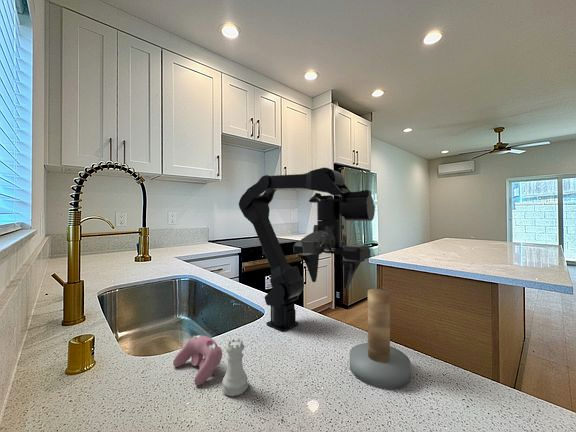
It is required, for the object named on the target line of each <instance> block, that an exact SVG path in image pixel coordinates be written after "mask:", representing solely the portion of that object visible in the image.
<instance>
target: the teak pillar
mask: <svg viewBox="0 0 576 432" xmlns="http://www.w3.org/2000/svg"><path fill="white" fill-rule="evenodd" d="M390 294H391V292H390V291H388V290H386V289H381V288H380V289H379V288H370V289H368V290H367V343H368V357H369V358H370V359H371V360H373V361H376V362H380V363H385V362H388V361H389V360H390V346H391V310H390V309H391V304H390V302H391V301H390V299H391V297H390V296H391V295H390Z"/></svg>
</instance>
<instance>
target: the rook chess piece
mask: <svg viewBox="0 0 576 432" xmlns="http://www.w3.org/2000/svg"><path fill="white" fill-rule="evenodd" d="M245 348H246V347H245V344H244V343H243V340H242V339H240V338H237V339H236V341H235V338H232V339H231V340H228V341H227V344H226V346H225V348H224V349H225V351H226V353H227V355H226V360H227V366H226V372H225V374H224V377H223V378H222V382H221V384H222V385H221V391H222V392H223V393H224V394H225V395H226V396H228V397H238V396H240V395H242V394H244V393H245V391H246V390H247V389H248V387H249V382H248V378H249V377H248V375H247V374H246V371H245V370H244V365H243V364H244V363H243V357H244V354H243V351H244V350H245Z"/></svg>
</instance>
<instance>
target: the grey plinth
mask: <svg viewBox="0 0 576 432" xmlns="http://www.w3.org/2000/svg"><path fill="white" fill-rule="evenodd" d="M411 367H412V363H411V360H410V358H409V357H408V355H407V354H406V353H405V352H403V351H402V350H400V349H397V348H396V347H394V346H391V345H390V360H389V361H388V362H385V363H380V362H376V361H373V360H371V359H370V358H369V357H368V342H362V343H359V344H356V345H354V346H353V347H351V349H350V351H349V370H350V371H351V373H352V374H353V376H354V377H355V378H356V379H357V380H359V381H361V382H362V383H365V385H369V386H371V387H374V388H377V389H383V390H398V389H402V388H404V387H406V386H407V385H409V384H410V382H411V379H412V368H411Z"/></svg>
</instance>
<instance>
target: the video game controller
mask: <svg viewBox="0 0 576 432" xmlns="http://www.w3.org/2000/svg"><path fill="white" fill-rule="evenodd" d="M190 358H191V361H190V363H191V366H194V367H199V370H198V371H197V373H196V374H195V377H194V381H193V382H194V385H195V386H197V387H198V386H202V385H203V384H204V383H206V382H207V381H208V380H209V379H210V377H211V376H212V375H213V373H214V372H215V370H216V368H217V366H218V365H220V363H221V361H222V358H223V351H222V348H221V347H220V346H219V345H218V343H217V341H215V340H214V339H213V338H211V337H210V336H208V335H200V334H199V335H193V336H192V337H191V338H189V340H188V341H187V342H186V343H185V345H184V346H183V347H182V349H180V350H179V352H178V353H177V354H176V355H175V356H174V359H173V360H172V361H173V362H172V366H173V367H174V368H178V367H182V366H183V365H184V364H185V363H186V362H187V361H189V359H190Z"/></svg>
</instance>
